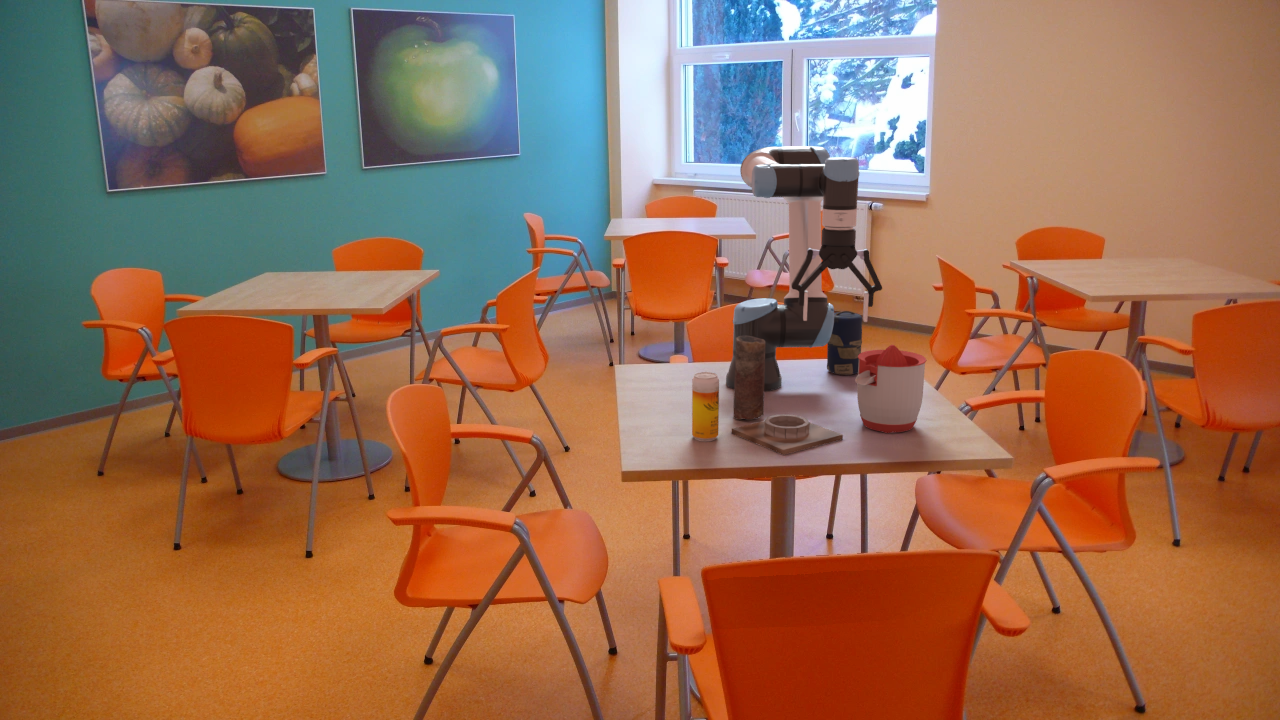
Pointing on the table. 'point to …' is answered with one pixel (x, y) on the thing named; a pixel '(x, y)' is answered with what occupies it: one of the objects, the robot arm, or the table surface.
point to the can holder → (786, 434)
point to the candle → (749, 378)
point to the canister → (845, 343)
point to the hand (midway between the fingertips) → (834, 320)
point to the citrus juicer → (890, 388)
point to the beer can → (705, 406)
